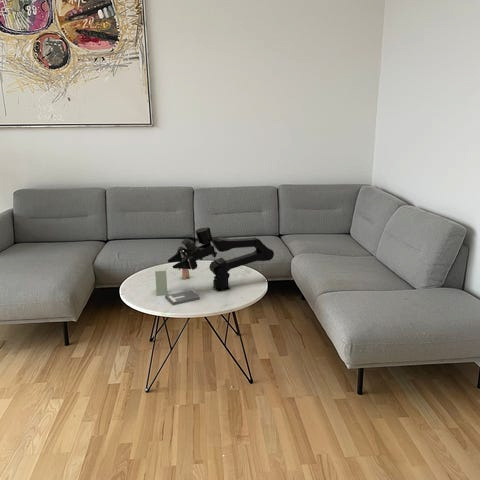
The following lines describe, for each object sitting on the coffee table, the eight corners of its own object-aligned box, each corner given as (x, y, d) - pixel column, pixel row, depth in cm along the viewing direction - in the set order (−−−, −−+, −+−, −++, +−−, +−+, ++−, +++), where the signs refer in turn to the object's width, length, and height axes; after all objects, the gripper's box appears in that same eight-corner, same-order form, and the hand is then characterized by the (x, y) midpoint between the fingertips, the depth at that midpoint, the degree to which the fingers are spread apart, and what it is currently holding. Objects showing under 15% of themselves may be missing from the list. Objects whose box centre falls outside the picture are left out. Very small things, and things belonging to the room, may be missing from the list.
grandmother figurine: (188, 275, 234) (186, 252, 231) (193, 277, 232) (192, 253, 228) (177, 279, 228) (175, 256, 225) (182, 281, 226) (181, 257, 223)
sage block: (167, 290, 214) (165, 267, 211) (167, 294, 209) (166, 270, 206) (156, 291, 213) (155, 267, 210) (156, 295, 209) (155, 271, 205)
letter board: (191, 292, 212) (191, 289, 212) (199, 299, 203) (199, 296, 203) (165, 297, 206) (165, 294, 206) (172, 305, 198) (172, 302, 197)
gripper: (190, 231, 213) (160, 243, 208) (203, 241, 196) (169, 254, 192) (197, 252, 217) (167, 264, 212) (209, 263, 200) (177, 276, 196)
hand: (170, 264), depth 203 cm, fingers open, 9 cm apart
